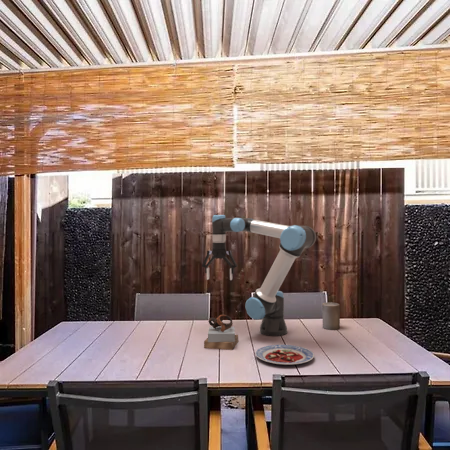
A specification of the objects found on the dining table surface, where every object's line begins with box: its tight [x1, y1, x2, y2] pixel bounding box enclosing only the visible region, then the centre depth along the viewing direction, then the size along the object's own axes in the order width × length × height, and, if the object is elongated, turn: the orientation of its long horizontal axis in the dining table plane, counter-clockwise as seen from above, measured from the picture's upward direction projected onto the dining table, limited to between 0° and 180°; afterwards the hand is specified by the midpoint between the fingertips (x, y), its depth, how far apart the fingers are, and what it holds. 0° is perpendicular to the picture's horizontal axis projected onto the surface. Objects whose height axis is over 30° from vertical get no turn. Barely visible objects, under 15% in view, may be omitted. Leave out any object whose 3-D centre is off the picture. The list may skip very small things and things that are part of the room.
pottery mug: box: [208, 314, 234, 332], centre depth 193 cm, size 12×10×8 cm
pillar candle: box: [321, 301, 341, 331], centre depth 221 cm, size 10×10×15 cm
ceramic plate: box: [254, 344, 315, 366], centre depth 172 cm, size 26×26×3 cm
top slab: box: [207, 326, 236, 342], centre depth 192 cm, size 13×13×4 cm
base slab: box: [203, 334, 239, 351], centre depth 193 cm, size 14×14×4 cm
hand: (219, 279), depth 219 cm, fingers open, 13 cm apart
